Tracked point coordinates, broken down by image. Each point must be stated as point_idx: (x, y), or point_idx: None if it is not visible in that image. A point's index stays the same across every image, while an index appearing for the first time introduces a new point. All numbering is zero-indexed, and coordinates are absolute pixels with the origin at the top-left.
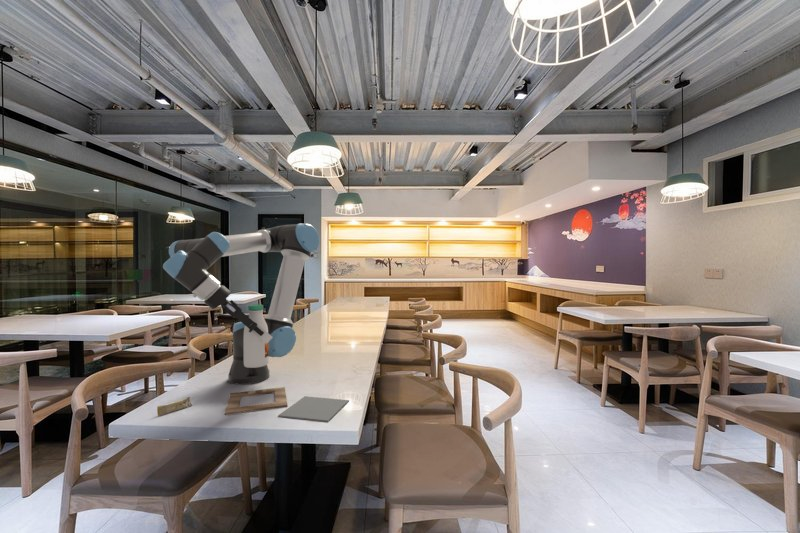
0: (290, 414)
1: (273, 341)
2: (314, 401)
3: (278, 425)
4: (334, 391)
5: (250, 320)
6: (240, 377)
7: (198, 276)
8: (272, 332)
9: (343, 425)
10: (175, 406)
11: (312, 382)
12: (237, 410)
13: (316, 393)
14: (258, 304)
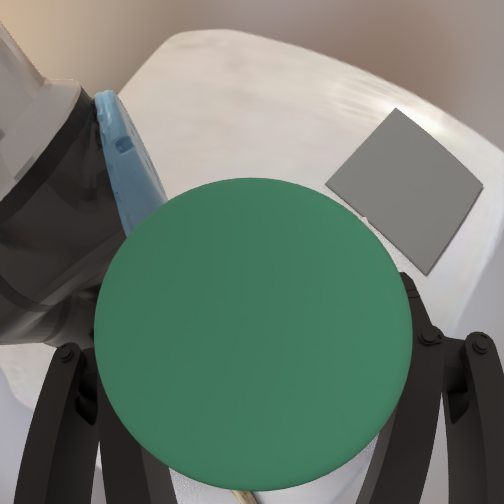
0: (432, 246)
1: (159, 203)
2: (375, 172)
3: (465, 282)
4: (314, 111)
5: (501, 397)
6: None
7: None
8: (108, 190)
9: (498, 168)
10: (247, 494)
11: (209, 141)
12: None
13: (307, 151)
14: (137, 265)
